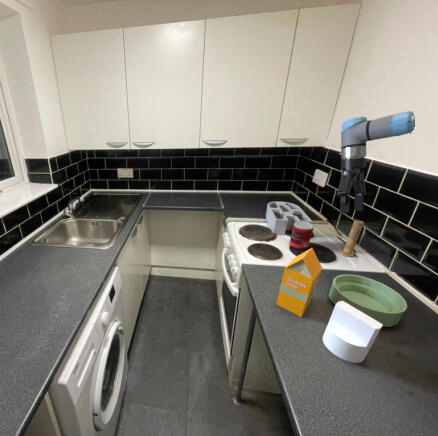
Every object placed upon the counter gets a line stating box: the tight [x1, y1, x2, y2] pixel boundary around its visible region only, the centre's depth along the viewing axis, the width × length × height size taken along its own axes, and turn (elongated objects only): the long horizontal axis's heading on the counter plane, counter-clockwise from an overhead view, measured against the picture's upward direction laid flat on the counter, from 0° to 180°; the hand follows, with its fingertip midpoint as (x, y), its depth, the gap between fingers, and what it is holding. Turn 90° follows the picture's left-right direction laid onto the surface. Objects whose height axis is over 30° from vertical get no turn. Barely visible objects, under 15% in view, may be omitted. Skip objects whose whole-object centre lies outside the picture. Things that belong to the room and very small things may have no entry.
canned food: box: [289, 221, 315, 250], centre depth 107 cm, size 8×8×11 cm
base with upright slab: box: [322, 301, 384, 364], centre depth 60 cm, size 9×9×12 cm
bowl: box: [328, 274, 408, 328], centre depth 73 cm, size 17×17×6 cm
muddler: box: [340, 219, 365, 258], centre depth 97 cm, size 4×4×16 cm
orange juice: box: [275, 247, 323, 318], centre depth 72 cm, size 8×9×20 cm
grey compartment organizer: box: [265, 201, 314, 236], centre depth 128 cm, size 17×28×9 cm, turn 165°
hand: (352, 211), depth 93 cm, fingers open, 13 cm apart
